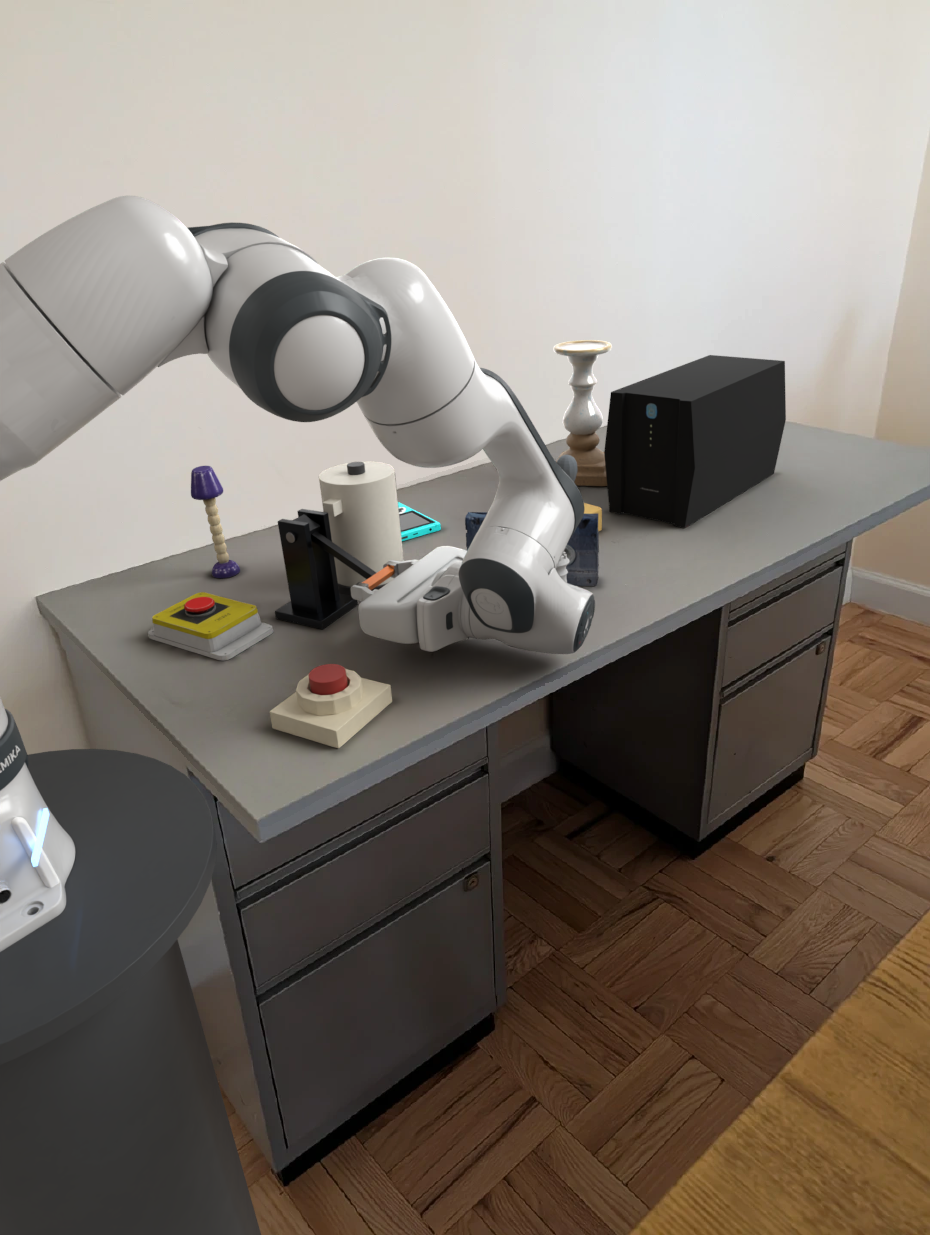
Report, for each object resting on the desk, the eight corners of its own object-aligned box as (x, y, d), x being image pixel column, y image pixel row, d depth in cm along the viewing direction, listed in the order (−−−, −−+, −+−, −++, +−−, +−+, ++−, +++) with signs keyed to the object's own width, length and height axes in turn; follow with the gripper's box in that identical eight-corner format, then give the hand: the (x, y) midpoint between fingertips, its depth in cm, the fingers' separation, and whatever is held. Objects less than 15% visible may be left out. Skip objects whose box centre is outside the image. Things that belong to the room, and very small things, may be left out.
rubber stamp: (533, 525, 146) (531, 453, 141) (557, 515, 150) (556, 445, 144) (578, 539, 139) (578, 465, 134) (603, 529, 143) (603, 456, 137)
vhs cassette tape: (599, 579, 126) (599, 512, 122) (597, 587, 123) (598, 520, 119) (471, 575, 130) (467, 510, 125) (467, 583, 127) (463, 518, 123)
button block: (338, 748, 93) (333, 716, 91) (272, 728, 97) (266, 697, 95) (392, 701, 100) (389, 670, 98) (328, 684, 104) (324, 654, 103)
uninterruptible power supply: (603, 510, 150) (604, 391, 141) (702, 458, 172) (708, 352, 163) (691, 529, 140) (698, 402, 131) (784, 472, 162) (795, 359, 153)
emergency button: (192, 580, 123) (271, 600, 116) (198, 609, 125) (276, 630, 118) (137, 607, 117) (218, 630, 109) (145, 637, 119) (225, 662, 111)
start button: (332, 699, 94) (330, 685, 94) (303, 691, 96) (300, 677, 96) (355, 682, 97) (353, 668, 97) (325, 674, 99) (323, 660, 99)
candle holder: (608, 486, 161) (609, 350, 150) (548, 484, 164) (545, 351, 153) (616, 468, 170) (618, 338, 160) (559, 466, 173) (557, 339, 163)
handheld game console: (395, 505, 159) (395, 498, 159) (443, 529, 147) (442, 521, 146) (345, 518, 154) (344, 511, 154) (390, 545, 142) (389, 537, 142)
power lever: (390, 579, 117) (395, 566, 116) (364, 598, 112) (369, 584, 111) (309, 523, 120) (313, 509, 119) (279, 539, 116) (283, 524, 114)
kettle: (373, 607, 122) (358, 483, 114) (310, 594, 127) (291, 475, 119) (428, 568, 133) (418, 452, 125) (368, 557, 138) (354, 445, 130)
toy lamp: (228, 581, 134) (206, 473, 126) (202, 578, 135) (179, 472, 128) (245, 568, 137) (225, 463, 130) (220, 565, 139) (199, 462, 132)
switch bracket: (358, 604, 123) (346, 510, 117) (322, 629, 117) (307, 531, 111) (312, 595, 127) (298, 503, 121) (275, 618, 121) (258, 523, 115)
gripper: (502, 543, 115) (411, 527, 121) (420, 610, 99) (320, 587, 105) (503, 587, 118) (414, 569, 124) (424, 659, 102) (326, 634, 108)
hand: (370, 578), depth 115 cm, fingers closed on power lever, 6 cm apart
